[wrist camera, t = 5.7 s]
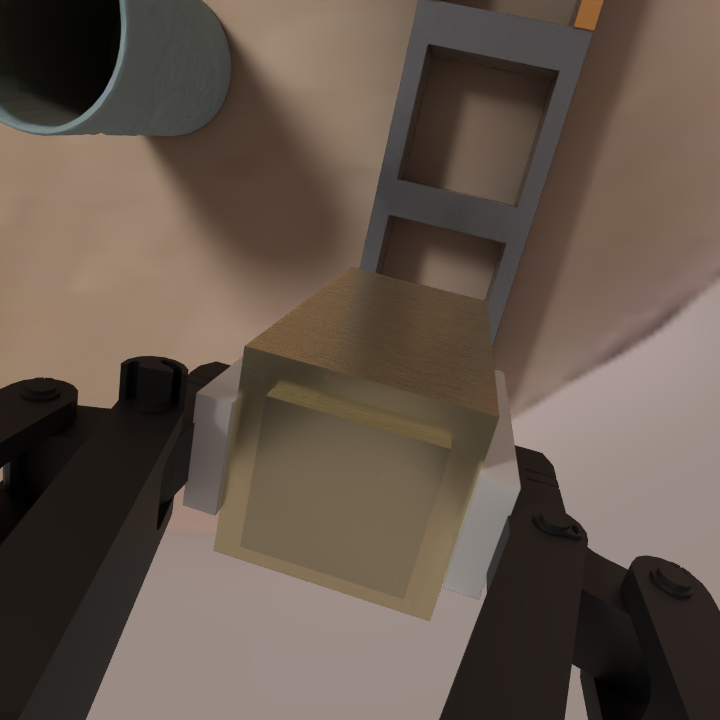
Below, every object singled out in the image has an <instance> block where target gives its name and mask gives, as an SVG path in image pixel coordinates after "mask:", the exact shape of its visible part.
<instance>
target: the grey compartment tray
mask: <svg viewBox="0 0 720 720" xmlns="http://www.w3.org/2000/svg"><path fill="white" fill-rule="evenodd" d="M603 1H604V0H577V2H576V5H575V9H574V12H573V15H572V18H571V22H570V25H569V26H564V25H559V24H554V23H549V22H544V21H539V20H534V19H529V18H523V17H518V16H513V15H508V14H503V13H498V12H493V11H488V10H483V9H478V8H473V7H468V6H463V5H458V4H452V3H447V2H445V0H418V4H417V9H416V13H415V18H414V22H413V27H412V32H411V36H410V41H409V45H408V50H407V54H406V59H405V63H404V68H403V73H402V77H401V82H400V86H399V91H398V95H397V100H396V105H395V109H394V114H393V118H392V123H391V127H390V132H389V136H388V141H387V146H386V150H385V155H384V159H383V164H382V168H381V173H380V177H379V182H378V187H377V191H376V196H375V200H374V205H373V209H372V214H371V218H370V223H369V228H368V232H367V237H366V241H365V246H364V250H363V255H362V260H361V264H360V269H362V270H366V271H370V272H374V273H377V274H381V272H382V268H383V264H384V259H385V255H386V251H387V246H388V242H389V238H390V234H391V229H392V225H393V221H394V217H395V216H397V217H401V218H405V219H409V220H413V221H417V222H422V223H426V224H430V225H434V226H438V227H442V228H446V229H450V230H454V231H458V232H462V233H466V234H470V235H475V236H479V237H483V238H487V239H491V240H495V241H499V242H503V244H502V247H501V250H500V254H499V257H498V260H497V263H496V267H495V270H494V273H493V277H492V280H491V283H490V286H489V290H488V293H487V296H486V299H485V301H486V302H488V312H489V321H490V331H491V340H492V346H493V343H494V340H495V337H496V334H497V331H498V327H499V324H500V321H501V318H502V315H503V312H504V309H505V306H506V302H507V299H508V296H509V293H510V290H511V287H512V284H513V281H514V278H515V274H516V271H517V268H518V265H519V262H520V259H521V256H522V253H523V249H524V246H525V243H526V240H527V237H528V234H529V231H530V228H531V224H532V221H533V218H534V215H535V212H536V209H537V206H538V203H539V200H540V196H541V193H542V190H543V187H544V184H545V181H546V178H547V175H548V171H549V168H550V165H551V162H552V159H553V156H554V153H555V150H556V146H557V143H558V140H559V137H560V134H561V131H562V128H563V125H564V122H565V118H566V115H567V112H568V109H569V106H570V103H571V100H572V97H573V93H574V90H575V87H576V84H577V81H578V78H579V75H580V72H581V68H582V65H583V62H584V59H585V56H586V53H587V50H588V47H589V43H590V40H591V37H592V34H593V31H594V29H595V26H596V23H597V20H598V17H599V14H600V11H601V8H602V4H603ZM432 56H437V57H442V58H447V59H452V60H456V61H461V62H466V63H471V64H475V65H480V66H485V67H490V68H495V69H499V70H504V71H509V72H514V73H518V74H523V75H528V76H533V77H538V78H542V79H547V80H552V84H551V87H550V90H549V94H548V97H547V100H546V103H545V107H544V110H543V113H542V116H541V120H540V123H539V126H538V130H537V133H536V136H535V139H534V143H533V146H532V149H531V152H530V156H529V159H528V162H527V165H526V169H525V172H524V175H523V179H522V182H521V185H520V188H519V192H518V195H517V198H516V201H515V205H514V206H513V205H509V204H505V203H501V202H497V201H492V200H488V199H484V198H480V197H475V196H471V195H467V194H463V193H459V192H454V191H450V190H446V189H442V188H438V187H433V186H429V185H425V184H421V183H416V182H412V181H408V180H404V179H403V178H404V174H405V169H406V165H407V161H408V157H409V152H410V148H411V144H412V140H413V135H414V131H415V127H416V122H417V118H418V114H419V110H420V105H421V101H422V97H423V93H424V88H425V84H426V80H427V75H428V71H429V67H430V63H431V58H432Z"/></svg>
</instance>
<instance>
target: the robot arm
mask: <svg viewBox="0 0 720 720" xmlns="http://www.w3.org/2000/svg"><path fill="white" fill-rule="evenodd" d="M242 361H243V357H242V358H241V359H239V360H238V361H237V362H235V363H234V364H233V365H232V366H230V365H227V364H223V363H220V362H212V363H208V364H205V365H201V366H199V367H197V368H196V369H194V370H193V371H192V372H190V374H188V369H187V368H186V366H185V365H184V364H182V363H180V362H178V361H176V360H172V359H168V358H165V357H156V356H141V357H135V358H131V359H127V360H126V361H124V362H122V363H121V373H120V387H119V400H118V401H117V403H116V404H115V405H114V406H113V407H112V409H108V408H97V407H89V406H80V405H77V402H78V390H77V389H76V388H75V387H74V386H73V385H71V384H69V383H67V382H64V381H60V380H55V379H53V378H45V379H44V378H34V379H29V380H22V381H19V382H16V383H13V384H10V385H8V386H6V387H4V388H2V389H0V468H2V467H3V480H2V481H1V482H0V720H86V718H87V715H88V713H89V711H90V708H91V705H92V703H93V701H94V699H95V696H96V693H97V691H98V689H99V687H100V684H101V682H102V680H103V677H104V675H105V672H106V670H107V668H108V665H109V663H110V660H111V658H112V655H113V653H114V651H115V649H116V646H117V644H118V641H119V639H120V637H121V634H122V632H123V629H124V627H125V624H126V622H127V620H128V618H129V615H130V613H131V610H132V608H133V606H134V603H135V601H136V598H137V596H138V593H139V591H140V589H141V587H142V584H143V582H144V579H145V577H146V574H147V572H148V570H149V567H150V565H151V563H152V560H153V558H154V555H155V553H156V551H157V548H158V546H159V544H160V541H161V539H162V536H163V534H164V532H165V529H166V527H167V525H168V522H169V520H170V517H171V515H172V509H173V501H174V495H175V494H176V493H177V492H178V491H179V490H180V489H181V488H182V487H183V486H184V485H185V491H184V499H183V505H184V506H187V507H190V508H193V509H196V510H200V511H203V512H206V513H209V514H212V515H216V514H217V513H218V511H219V510H220V509H221V502H222V496H223V489H224V482H225V476H226V469H227V463H228V456H229V450H230V443H231V436H232V430H233V423H234V417H235V410H236V404H237V394H238V387H239V381H240V374H241V368H242ZM495 378H496V387H497V397H498V406H499V416H500V418H499V421H498V423H497V426H496V429H495V432H494V435H493V438H492V441H491V444H490V447H489V450H488V453H487V456H486V459H485V461H484V464H483V467H482V469H481V470H480V473H479V476H478V479H477V482H476V485H475V488H474V491H473V493H472V496H471V499H470V502H469V505H468V508H467V511H466V514H465V517H464V520H463V523H462V526H461V529H460V531H459V534H458V537H457V540H456V543H455V546H454V549H453V552H452V555H451V558H450V561H449V564H448V567H447V570H446V572H445V575H444V578H443V588H444V589H447V590H450V591H453V592H457V593H460V594H463V595H466V596H469V597H472V598H475V599H478V600H479V598H480V595H481V592H482V590H483V587H484V584H485V582H486V579H487V595H486V598H485V600H484V603H483V605H482V608H481V611H480V613H479V616H478V618H477V621H476V624H475V626H474V629H473V631H472V634H471V637H470V639H469V642H468V645H467V647H466V650H465V653H464V656H463V658H462V661H461V663H460V666H459V669H458V671H457V674H456V676H455V679H454V682H453V685H452V687H451V690H450V693H449V695H448V698H447V701H446V703H445V706H444V708H443V711H442V714H441V716H440V719H439V720H564V719H565V710H566V704H567V696H568V688H569V681H570V673H571V666H572V664H573V665H575V666H576V667H578V668H580V669H581V670H580V679H581V684H582V690H583V695H584V700H585V705H586V710H587V716H588V720H720V611H719V609H718V607H717V605H716V603H715V602H714V600H713V598H712V596H711V594H710V593H709V592H708V590H707V589H706V588H705V587H704V585H703V584H702V583H701V582H700V581H699V580H697V579H696V578H695V577H694V576H693V575H691V573H690V572H688V571H687V570H686V569H684V568H681V567H680V566H679V565H677V564H675V563H673V562H669V561H666V560H664V559H661V558H657V557H652V556H639V557H636V558H635V560H634V561H633V562H632V563H631V565H630V567H629V570H628V569H625V568H624V567H622V566H620V565H618V564H616V563H614V562H611V561H609V560H607V559H605V558H604V557H602V556H600V555H598V554H596V553H595V552H593V551H592V550H590V549H589V548H588V547H587V545H588V538H587V533H586V531H585V530H584V529H583V528H582V526H581V525H580V524H579V523H578V522H577V521H576V520H574V519H573V518H572V517H571V516H569V515H568V514H566V511H565V508H564V504H563V500H562V497H561V493H560V490H559V486H558V482H557V480H556V474H555V471H554V467H553V465H552V464H551V463H550V461H549V460H548V459H547V458H546V457H545V456H544V455H543V454H542V453H540V452H537V451H533V450H530V449H526V448H522V447H519V446H515V445H514V439H513V431H512V424H511V417H510V411H509V404H508V397H507V390H506V383H505V376H504V372H502V371H498V370H495Z"/></svg>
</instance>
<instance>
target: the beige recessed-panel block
mask: <svg viewBox="0 0 720 720" xmlns="http://www.w3.org/2000/svg"><path fill="white" fill-rule="evenodd" d="M499 418H500V416H499V406H498V397H497V387H496V378H495V369H494V359H493V350H492V340H491V331H490V321H489V312H488V302H486V301H482V300H478V299H475V298H471V297H467V296H463V295H459V294H455V293H451V292H447V291H443V290H440V289H436V288H432V287H428V286H424V285H420V284H416V283H412V282H409V281H405V280H401V279H397V278H393V277H389V276H385V275H381V274H377V273H374V272H370V271H366V270H362V269H358V268H354V267H351V268H349V269H348V270H347V271H345V272H344V273H343V274H341V275H340V276H339V277H337V278H336V279H335V280H333V281H332V282H330V283H329V284H328V285H326V286H325V287H324V288H322V289H321V290H320V291H318V292H317V293H316V294H314V295H313V296H312V297H310V298H309V299H307V300H306V301H305V302H303V303H302V304H301V305H299V306H298V307H297V308H295V309H294V310H293V311H291V312H290V313H289V314H287V315H286V316H284V317H283V318H282V319H280V320H279V321H278V322H276V323H275V324H274V325H272V326H271V327H270V328H268V329H267V330H266V331H264V332H263V333H262V334H260V335H259V336H257V337H256V338H255V339H253V340H252V341H251V342H249V343H248V344H247V345H245V348H244V355H243V361H242V368H241V374H240V381H239V387H238V394H237V404H236V410H235V417H234V423H233V430H232V436H231V443H230V450H229V456H228V463H227V469H226V476H225V482H224V489H223V496H222V502H221V509H220V513H219V519H218V526H217V532H216V539H215V546H214V551H216V552H219V553H222V554H225V555H228V556H231V557H234V558H237V559H240V560H243V561H246V562H250V563H253V564H256V565H259V566H262V567H265V568H268V569H271V570H274V571H277V572H280V573H284V574H286V575H289V576H292V577H296V578H299V579H302V580H305V581H308V582H311V583H314V584H317V585H320V586H323V587H326V588H329V589H333V590H335V591H338V592H342V593H345V594H348V595H351V596H354V597H357V598H360V599H363V600H366V601H369V602H372V603H375V604H378V605H382V606H385V607H388V608H391V609H394V610H397V611H400V612H403V613H406V614H409V615H412V616H415V617H418V618H421V619H424V620H428V621H430V619H431V616H432V613H433V610H434V607H435V605H436V602H437V598H438V596H439V593H440V590H441V587H442V584H443V578H444V575H445V572H446V570H447V567H448V564H449V561H450V558H451V555H452V552H453V549H454V546H455V543H456V540H457V537H458V534H459V531H460V529H461V526H462V523H463V520H464V517H465V514H466V511H467V508H468V505H469V502H470V499H471V496H472V493H473V491H474V488H475V485H476V482H477V479H478V476H479V473H480V470H481V469H482V467H483V464H484V461H485V459H486V456H487V453H488V450H489V447H490V444H491V441H492V438H493V435H494V432H495V429H496V426H497V423H498V421H499Z"/></svg>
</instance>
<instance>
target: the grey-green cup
mask: <svg viewBox="0 0 720 720" xmlns="http://www.w3.org/2000/svg"><path fill="white" fill-rule="evenodd" d="M230 81H231V55H230V50H229V45H228V41H227V38H226V35H225V33H224V31H223V28H222V26H221V24H220V22H219V20H218V19H217V17H216V15H215V14H214V13H213V11H212V10H211V9H210V8H209V7H208V5H207V4H206V3H204V2H203V1H202V0H0V122H1V123H3V124H5V125H8V126H10V127H12V128H14V129H16V130H20V131H23V132H26V133H30V134H34V135H43V136H49V135H83V134H91V135H95V134H99V133H103V134H105V135H128V136H137V135H149V136H180V135H186V134H189V133H192V132H194V131H196V130H198V129H200V128H201V127H203V126H204V125H205V124H207V123H208V122H209V121H210V120H212V119H213V118H214V117H215V115H216V114H217V113H218V112H219V110H220V108H221V107H222V105H223V103H224V100H225V98H226V95H227V93H228V90H229V86H230Z"/></svg>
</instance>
